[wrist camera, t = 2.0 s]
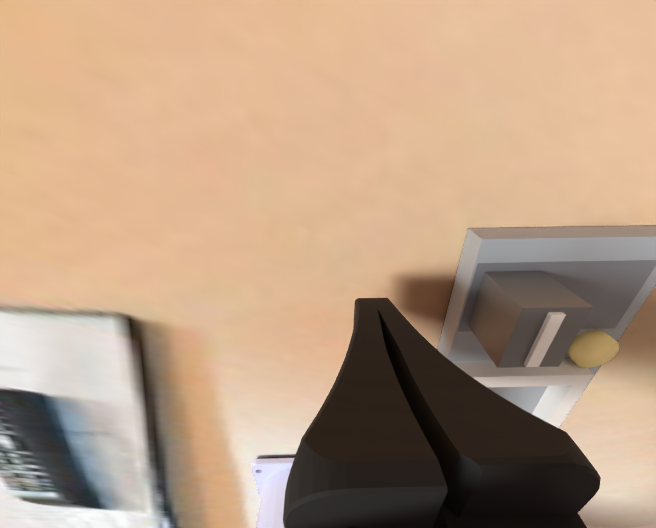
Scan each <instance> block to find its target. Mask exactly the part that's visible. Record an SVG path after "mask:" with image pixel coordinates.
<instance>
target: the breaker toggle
mask: <svg viewBox="0 0 656 528" xmlns="http://www.w3.org/2000/svg"><path fill="white" fill-rule="evenodd" d="M592 308H593V307H592V306H591V305H590V304H588V303H587V302H585V301H584V300H583V299H581V298H580V297H579V296H577V295H576V294H574V293H573V292H572V291H570V290H569V289H567V288H566V287H565V286H563V285H562V284H560V283H559V282H558V281H556V280H555V279H553V278H552V277H551V276H549V275H548V274H547V273H545V272H544V271H500V272H485V273H484V276H483V280H482V283H481V286H480V289H479V293H478V296H477V299H476V302H475V305H474V309H473V312H472V315H471V318H470V321H469V325H468V326H469V327H470V329H471V330H472V332H473V333H474V335H475V336H476V338H477V339H478V340H479V342H480V343H481V345H482V346H483V348H484V349H485V351H486V352H487V354H488V355H489V356H490V358H491V359H492V361H493V362H494V364H495V365H496V367H497V368H513V367H558V366H559V365H560V364H561V362H562V360H563V358H564V357H565V355H566V353H567V351H568V350H569V348H570V346H571V344H572V343H573V341H574V339H575V337H576V336H577V334H578V332H579V330H580V329H581V327H582V325H583V323H584V322H585V320H586V318H587V316H588V315H589V313H590V311H591V309H592Z"/></svg>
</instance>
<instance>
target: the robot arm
mask: <svg viewBox="0 0 656 528" xmlns="http://www.w3.org/2000/svg"><path fill="white" fill-rule="evenodd" d="M252 471H253V475H254V478H255V482H256V486H257V489H258V493H259V497H260V504H259V511H258V517H257V523H256V528H587V527H586V526H585V524H584V522H583V521H582V519H581V518H580V516H579V515H578V512H579V511H580V510H581V509H582V508H583V507H584V506H585V505H586V504H587V503H588V501H589V500H590V499H591V498H592V497H593V496H594V495H595V494H596V492H597V491H598V490H599V486H600V476H599V474H598V473H597V471H596V470H595V468H594V467H593V466H592V464H591V463H590V462H589V460H588V459H587V458H586V456H585V455H584V454H583V452H582V451H581V450H580V449H579V447H578V446H577V445H576V444H575V442H574V441H573V440H572V439H571V437H570V436H569V435H568V434H567V433H566V432H565V431H563V430H561V429H559V428H557V427H555V426H553V425H551V424H550V423H548V422H546V421H544V420H542V419H540V418H538V417H536V416H534V415H533V414H531V413H529V412H527V411H525V410H523V409H522V408H520V407H518V406H516V405H515V404H513V403H511V402H510V401H508V400H506V399H505V398H503V397H501V396H500V395H498V394H497V393H495V392H493V391H492V390H490V389H489V388H487V387H486V386H484V385H483V384H481V383H480V382H478V381H477V380H475V379H474V378H473V377H471V376H470V375H468V374H467V373H465V372H464V371H463V370H461V369H460V368H459V367H457V366H456V365H455V364H454V363H452V362H451V361H450V360H449V359H447V358H446V357H445V356H444V355H442V354H441V353H440V352H439V351H438V350H437V349H435V348H434V347H433V346H432V345H431V344H430V343H429V342H428V341H427V340H426V339H425V338H424V337H423V336H422V335H421V334H420V333H419V332H418V331H417V330H416V329H415V328H414V327H413V326H412V325H411V324H410V323H409V322H408V321H407V320H406V318H405V317H404V316H403V315H402V314H401V313H400V312H399V311H398V309H397V308H396V307H395V306H394V305H393V304H392V302H391V301H390V300H389V299H388V298H358V299H357V300H355V310H354V329H353V334H352V338H351V341H350V344H349V348H348V351H347V354H346V357H345V359H344V362H343V365H342V367H341V369H340V372H339V374H338V376H337V378H336V381H335V383H334V385H333V387H332V389H331V391H330V393H329V394H328V396H327V398H326V400H325V402H324V404H323V405H322V407H321V409H320V411H319V412H318V414H317V416H316V417H315V419H314V420H313V422H312V423H311V425H310V426H309V428H308V430H307V431H306V433H305V434H304V436H303V437H302V439H301V443H300V445H299V448H298V450H297V453H296V456H295V458H269V459H255V460H254V461H253V462H252Z"/></svg>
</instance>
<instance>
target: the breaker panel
mask: <svg viewBox="0 0 656 528" xmlns="http://www.w3.org/2000/svg"><path fill="white" fill-rule="evenodd" d="M500 271H544V272H545V273H547V274H548V275H549V276H551V277H552V278H553V279H555V280H556V281H558V282H559V283H560V284H562V285H563V286H565V287H566V288H567V289H569V290H570V291H572V292H573V293H574V294H576V295H577V296H579V297H580V298H581V299H583V300H584V301H585V302H587V303H588V304H590V305H591V306H592V307H593V308H592V309H591V311H590V313H589V315H588V316H587V318H586V320H585V322H584V323H583V325H582V327H581V329H580V330H579V332H578V334H577V336H576V337H575V339H574V341H573V343H572V344H571V346H570V348H569V350H568V351H567V353H566V355H565V357H564V358H563V360H562V362H561V364H560V365H559V366H558V367H513V368H497V367H496V365H495V364H494V362H493V361H492V359H491V358H490V356H489V355H488V354H487V352H486V351H485V349H484V348H483V346H482V345H481V343H480V342H479V340H478V339H477V338H476V336H475V335H474V333H473V332H472V330H471V329H470V327H469V326H468V325H469V321H470V318H471V315H472V312H473V309H474V305H475V302H476V299H477V296H478V293H479V289H480V286H481V283H482V280H483V276H484V273H485V272H500ZM655 285H656V225H655V226H587V227H519V228H468V231H467V235H466V239H465V243H464V246H463V250H462V254H461V258H460V262H459V266H458V270H457V274H456V278H455V282H454V286H453V290H452V294H451V298H450V302H449V305H448V309H447V313H446V317H445V321H444V325H443V329H442V333H441V337H440V341H439V345H438V349H437V350H438V351H439V352H440V353H441V354H442V355H444V356H445V357H446V358H447V359H449V360H450V361H451V362H452V363H454V364H455V365H456V366H457V367H459V368H460V369H461V370H463V371H464V372H465V373H467V374H468V375H470V376H471V377H473V378H474V379H475V380H477V381H478V382H480V383H481V384H483V385H484V386H486V387H487V388H489V389H490V390H492V391H493V392H495V393H497V394H498V395H500V396H501V397H503V398H505V399H506V400H508V401H510V402H511V403H513V404H515V405H516V406H518V407H520V408H522V409H523V410H525V411H527V412H529V413H531V414H533V415H534V416H536V417H538V418H540V419H542V420H544V421H546V422H548V423H550V424H551V425H553V426H555V427H557V428H559V427H560V426H561V424H562V423H563V421H564V420H565V418H566V417H567V415H568V414H569V412H570V411H571V409H572V408H573V406H574V405H575V403H576V402H577V401H578V399H579V398H580V396H581V395H582V393H583V392H584V390H585V389H586V387H587V386H588V384H589V383H590V381H591V380H592V378H593V377H594V375H595V374H596V372H597V371H598V370H599V368H600V367H601V365H602V364H604V363H606V362H608V361H610V360H611V359H612V358H613V357H614V356H615V355H616V354H617V353H618V351H619V343H618V342H617V341H618V340H619V338H620V337H621V336H622V334H623V333H624V331H625V330H626V328H627V327H628V325H629V324H630V322H631V321H632V319H633V318H634V316H635V315H636V313H637V312H638V310H639V309H640V307H641V306H642V304H643V303H644V302H645V300H646V299H647V297H648V296H649V294H650V293H651V291H652V290H653V288H654V287H655Z"/></svg>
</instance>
